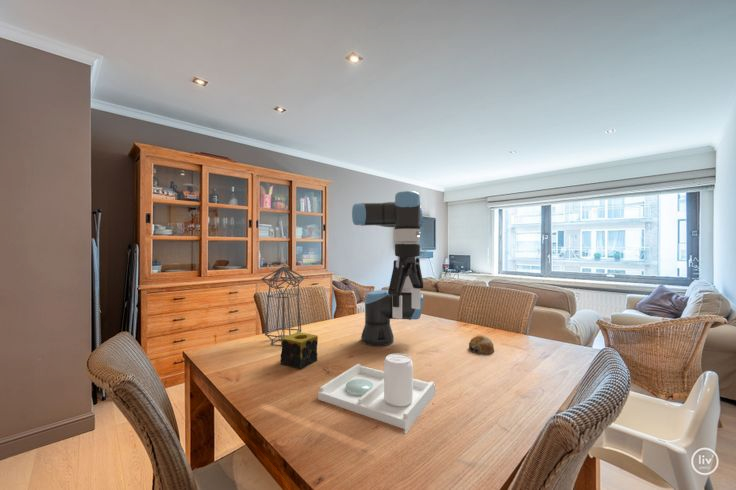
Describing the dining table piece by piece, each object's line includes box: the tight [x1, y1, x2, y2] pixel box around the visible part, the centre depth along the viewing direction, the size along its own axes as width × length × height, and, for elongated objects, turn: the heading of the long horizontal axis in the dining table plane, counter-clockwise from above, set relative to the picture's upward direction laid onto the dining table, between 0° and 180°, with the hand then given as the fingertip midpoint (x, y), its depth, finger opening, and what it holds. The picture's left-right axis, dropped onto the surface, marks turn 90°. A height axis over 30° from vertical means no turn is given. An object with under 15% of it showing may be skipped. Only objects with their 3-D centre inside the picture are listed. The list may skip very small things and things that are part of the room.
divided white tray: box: [317, 363, 436, 435], centre depth 88 cm, size 27×22×4 cm
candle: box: [279, 331, 319, 370], centre depth 115 cm, size 10×10×10 cm
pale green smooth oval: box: [346, 379, 373, 396], centre depth 92 cm, size 8×8×1 cm
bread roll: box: [468, 334, 495, 355], centre depth 129 cm, size 10×10×8 cm
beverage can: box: [383, 353, 414, 406], centre depth 85 cm, size 8×8×12 cm
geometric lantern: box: [260, 266, 306, 347], centre depth 139 cm, size 16×16×35 cm
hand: (407, 313), depth 92 cm, fingers open, 13 cm apart
